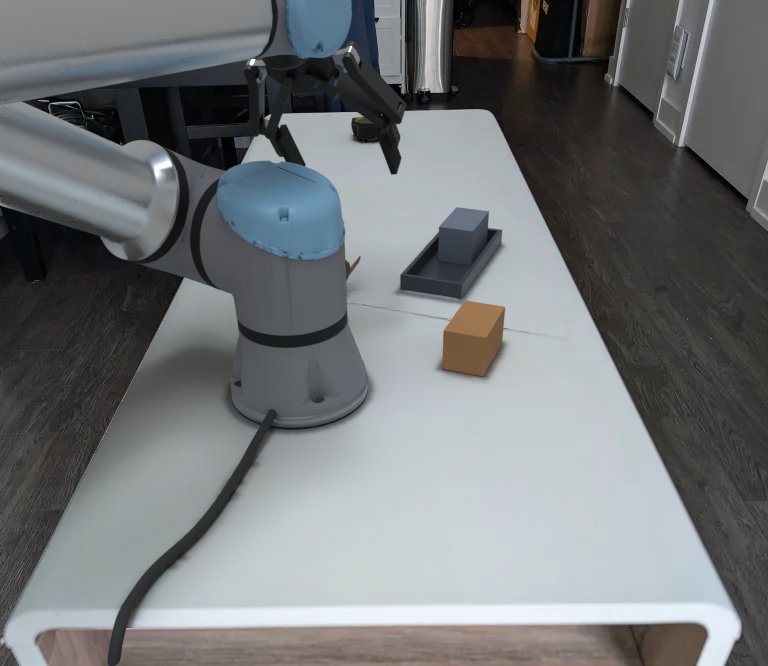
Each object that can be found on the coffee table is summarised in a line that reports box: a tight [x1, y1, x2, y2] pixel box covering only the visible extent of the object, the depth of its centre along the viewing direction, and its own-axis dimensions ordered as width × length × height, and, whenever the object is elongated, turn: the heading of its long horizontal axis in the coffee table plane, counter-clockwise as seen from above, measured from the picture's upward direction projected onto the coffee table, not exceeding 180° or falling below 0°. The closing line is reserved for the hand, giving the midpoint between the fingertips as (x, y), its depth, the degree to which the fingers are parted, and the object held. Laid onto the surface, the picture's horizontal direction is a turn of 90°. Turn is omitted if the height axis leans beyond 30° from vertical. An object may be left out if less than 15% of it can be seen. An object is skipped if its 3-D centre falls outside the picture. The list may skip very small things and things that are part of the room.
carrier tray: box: [399, 227, 503, 300], centre depth 113 cm, size 20×9×2 cm, turn 158°
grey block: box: [438, 206, 490, 265], centre depth 115 cm, size 8×5×5 cm, turn 158°
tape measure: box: [350, 116, 378, 142], centre depth 161 cm, size 7×7×4 cm
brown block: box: [441, 300, 506, 377], centre depth 93 cm, size 8×5×5 cm, turn 158°
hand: (347, 169), depth 103 cm, fingers open, 13 cm apart
